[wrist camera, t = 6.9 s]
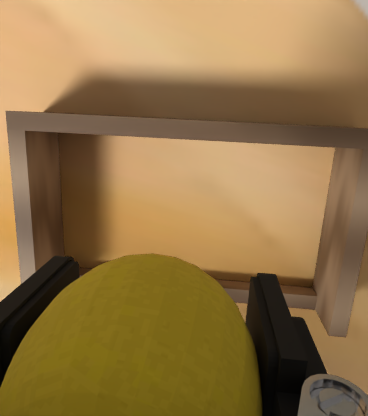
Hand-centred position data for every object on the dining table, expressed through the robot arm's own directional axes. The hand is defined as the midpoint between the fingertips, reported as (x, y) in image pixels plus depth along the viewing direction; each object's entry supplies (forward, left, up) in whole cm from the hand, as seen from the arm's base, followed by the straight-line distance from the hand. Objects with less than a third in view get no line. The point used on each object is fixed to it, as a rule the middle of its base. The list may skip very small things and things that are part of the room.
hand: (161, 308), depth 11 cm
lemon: (0, 0, -1) cm, 1 cm away
